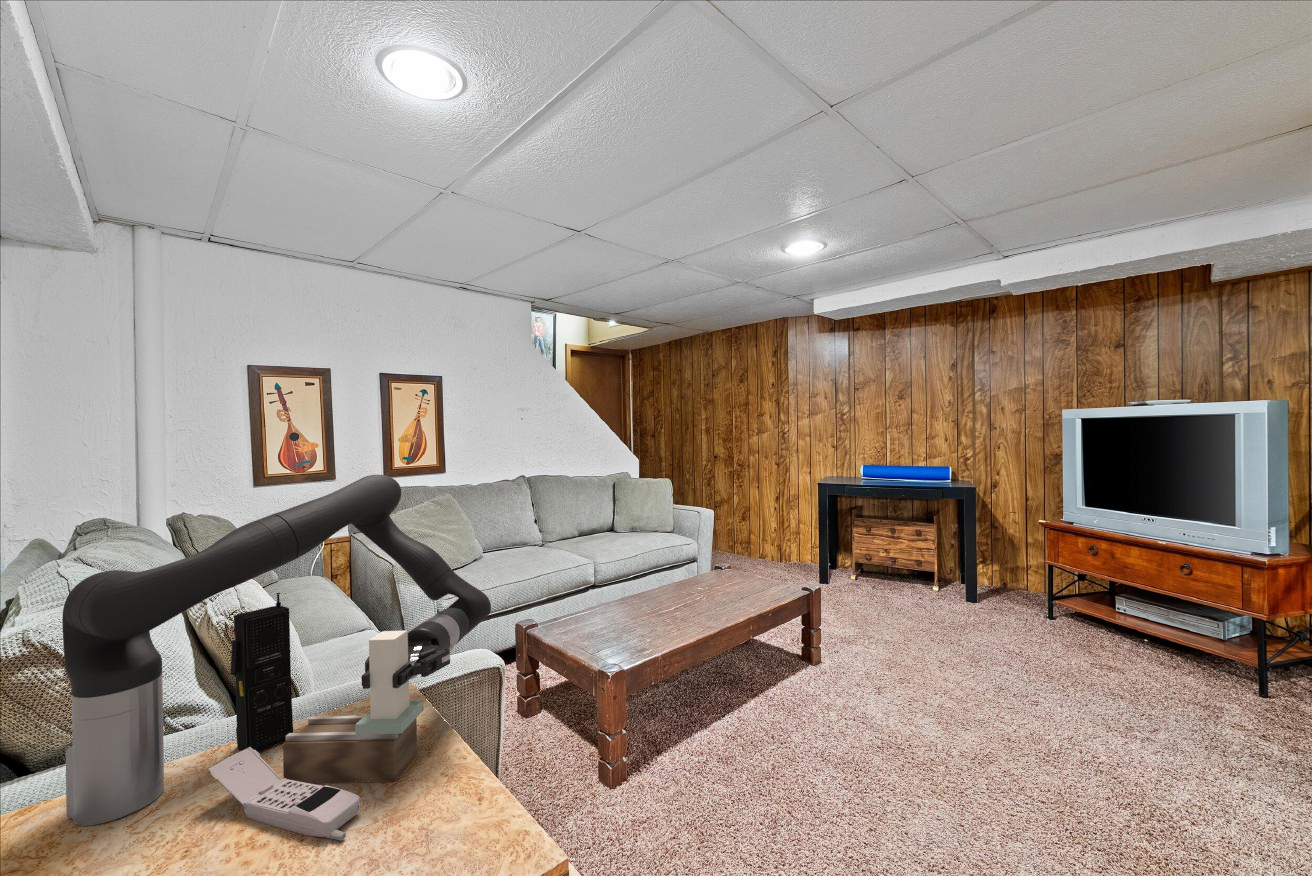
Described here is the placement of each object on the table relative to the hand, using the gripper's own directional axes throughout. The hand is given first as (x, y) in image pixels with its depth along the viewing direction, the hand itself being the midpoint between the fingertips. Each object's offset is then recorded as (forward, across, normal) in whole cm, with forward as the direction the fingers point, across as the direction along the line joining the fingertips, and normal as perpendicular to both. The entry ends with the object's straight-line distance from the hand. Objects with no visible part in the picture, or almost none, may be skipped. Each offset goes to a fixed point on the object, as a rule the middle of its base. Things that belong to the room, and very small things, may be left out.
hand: (380, 681), depth 80 cm
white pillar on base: (-3, 0, +7) cm, 8 cm away
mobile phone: (+7, -9, +15) cm, 19 cm away
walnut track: (-3, -6, +14) cm, 16 cm away
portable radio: (-10, -27, +15) cm, 32 cm away
